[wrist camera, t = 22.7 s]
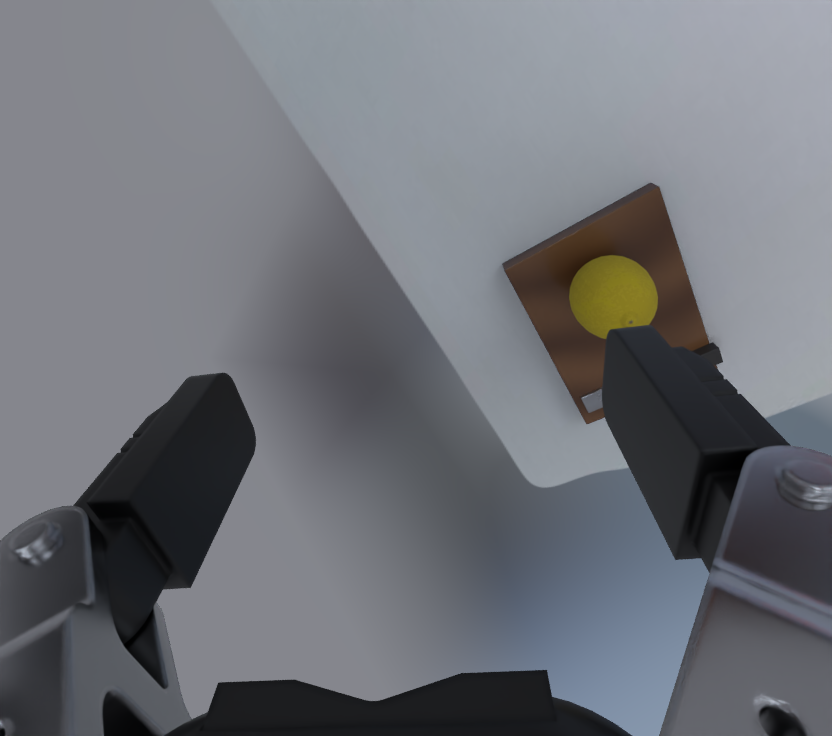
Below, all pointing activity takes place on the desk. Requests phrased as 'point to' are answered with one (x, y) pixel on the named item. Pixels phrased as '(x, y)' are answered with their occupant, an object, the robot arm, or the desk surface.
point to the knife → (708, 351)
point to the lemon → (612, 295)
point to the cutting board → (589, 239)
